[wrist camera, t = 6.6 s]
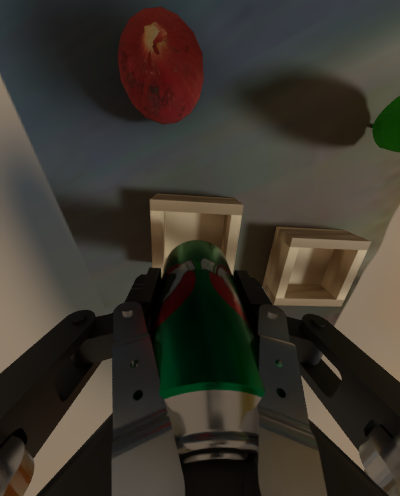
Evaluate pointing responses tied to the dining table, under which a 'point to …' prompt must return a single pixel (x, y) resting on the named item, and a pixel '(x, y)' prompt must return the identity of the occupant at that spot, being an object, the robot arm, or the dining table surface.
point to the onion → (160, 65)
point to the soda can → (206, 357)
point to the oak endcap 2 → (312, 266)
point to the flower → (388, 127)
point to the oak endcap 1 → (193, 224)
